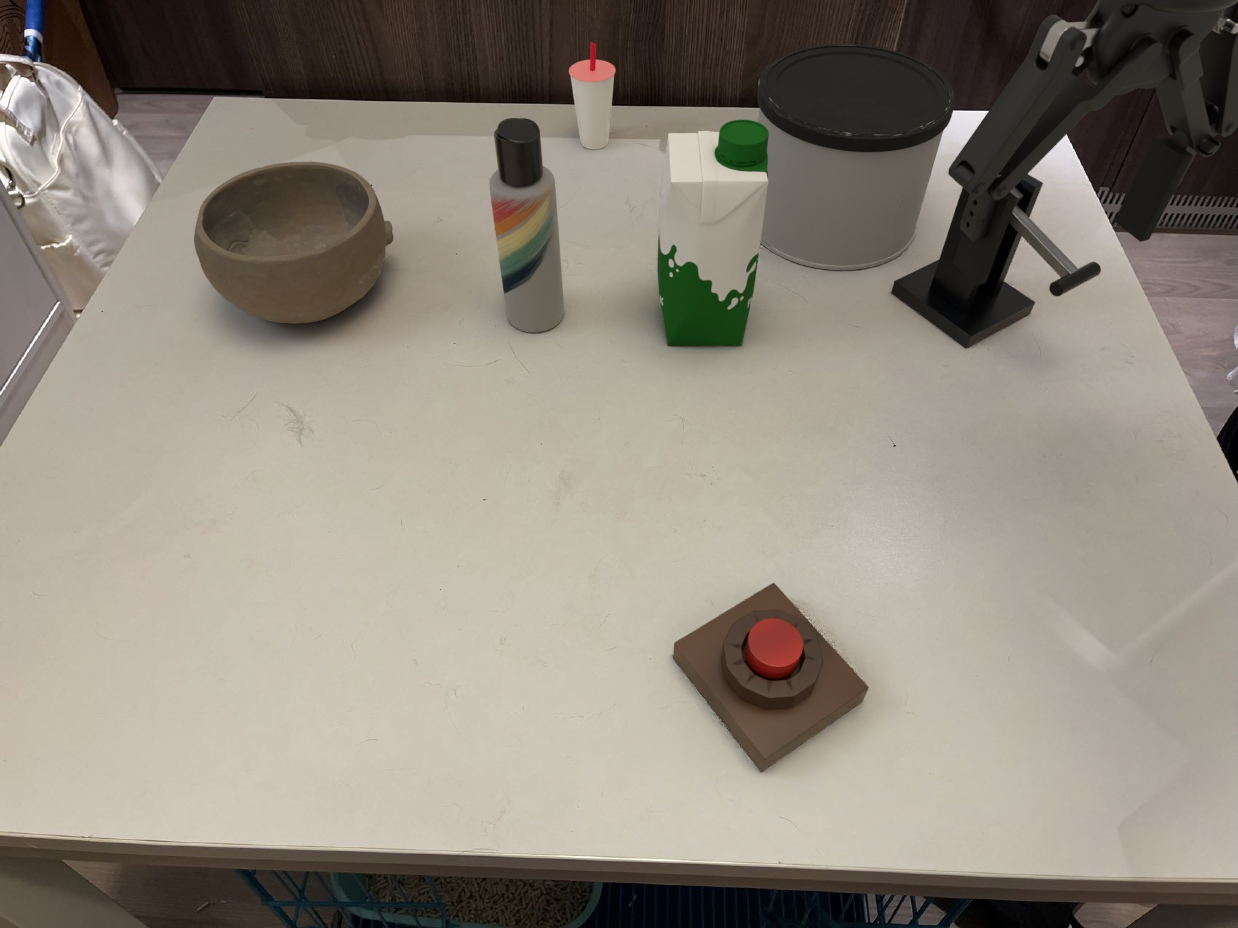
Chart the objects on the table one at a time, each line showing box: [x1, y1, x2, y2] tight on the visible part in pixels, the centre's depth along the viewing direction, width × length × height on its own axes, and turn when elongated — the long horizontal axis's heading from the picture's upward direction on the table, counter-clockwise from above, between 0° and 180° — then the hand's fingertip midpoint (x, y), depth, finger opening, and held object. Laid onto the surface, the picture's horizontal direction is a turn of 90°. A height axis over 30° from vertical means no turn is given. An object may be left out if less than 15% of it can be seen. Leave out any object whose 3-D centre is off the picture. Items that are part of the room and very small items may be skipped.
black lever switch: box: [891, 169, 1044, 349], centre depth 83 cm, size 10×9×14 cm
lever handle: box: [1000, 175, 1102, 297], centre depth 78 cm, size 12×5×2 cm, turn 33°
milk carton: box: [656, 119, 769, 347], centre depth 80 cm, size 9×9×20 cm
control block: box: [672, 582, 870, 773], centre depth 61 cm, size 10×9×4 cm
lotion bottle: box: [488, 117, 565, 334], centre depth 80 cm, size 6×6×20 cm
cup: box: [568, 41, 617, 150], centre depth 104 cm, size 5×5×12 cm
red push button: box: [746, 618, 803, 679], centre depth 59 cm, size 4×4×2 cm
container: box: [756, 43, 957, 271], centre depth 92 cm, size 19×19×15 cm
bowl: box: [193, 161, 394, 324], centre depth 87 cm, size 17×18×10 cm
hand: (1051, 251), depth 62 cm, fingers open, 13 cm apart
